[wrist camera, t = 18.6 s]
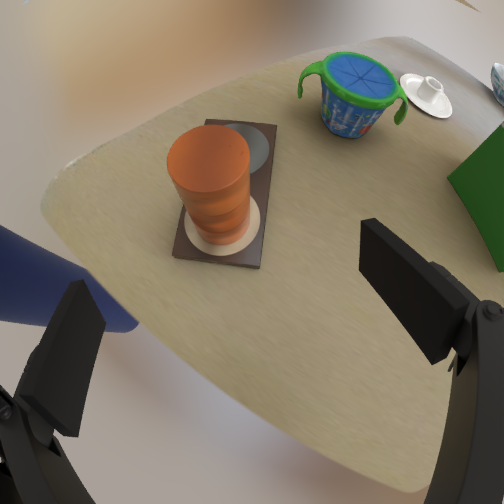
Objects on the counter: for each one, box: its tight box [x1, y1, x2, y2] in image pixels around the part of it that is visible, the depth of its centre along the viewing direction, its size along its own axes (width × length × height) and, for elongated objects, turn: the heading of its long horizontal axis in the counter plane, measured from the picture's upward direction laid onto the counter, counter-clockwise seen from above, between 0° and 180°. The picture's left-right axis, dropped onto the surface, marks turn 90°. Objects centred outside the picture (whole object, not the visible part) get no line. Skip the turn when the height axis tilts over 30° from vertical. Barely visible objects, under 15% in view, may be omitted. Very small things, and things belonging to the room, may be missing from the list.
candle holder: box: [400, 74, 452, 118], centre depth 40 cm, size 12×12×4 cm
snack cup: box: [298, 52, 408, 138], centre depth 34 cm, size 16×10×10 cm
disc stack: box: [167, 125, 250, 245], centre depth 27 cm, size 6×6×13 cm
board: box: [172, 119, 277, 269], centre depth 35 cm, size 10×20×1 cm, turn 173°
